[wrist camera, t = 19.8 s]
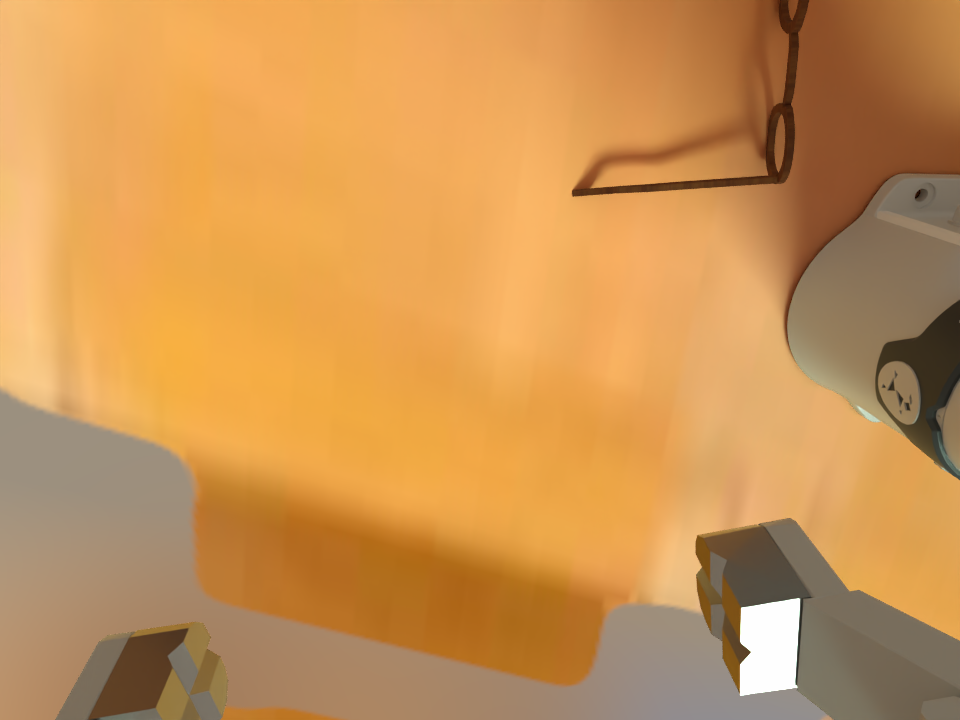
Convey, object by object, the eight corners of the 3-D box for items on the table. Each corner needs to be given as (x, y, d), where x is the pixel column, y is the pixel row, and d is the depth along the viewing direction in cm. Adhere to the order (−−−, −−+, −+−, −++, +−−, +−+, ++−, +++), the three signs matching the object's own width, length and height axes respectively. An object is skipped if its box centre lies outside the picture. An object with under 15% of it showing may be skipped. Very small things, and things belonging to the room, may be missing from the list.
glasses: (766, 173, 44) (804, 189, 40) (571, 195, 44) (587, 213, 39) (787, -59, 38) (834, -72, 34) (562, -35, 38) (579, -44, 34)
